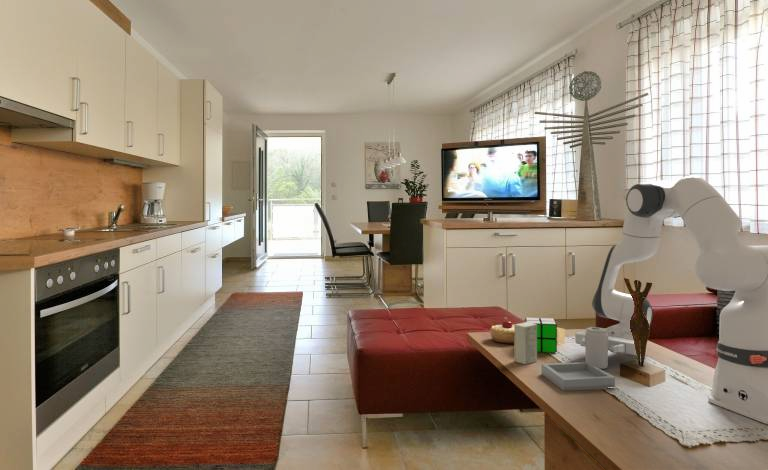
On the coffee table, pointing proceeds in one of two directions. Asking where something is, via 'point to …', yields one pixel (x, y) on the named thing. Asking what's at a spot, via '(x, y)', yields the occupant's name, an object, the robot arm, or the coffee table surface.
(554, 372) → the tray
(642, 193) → the robot arm
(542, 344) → the puzzle cube
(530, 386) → the coffee table surface
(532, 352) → the skincare box
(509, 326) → the pastry
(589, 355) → the beverage can
